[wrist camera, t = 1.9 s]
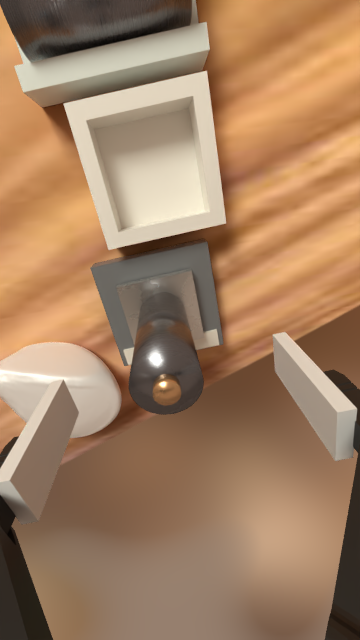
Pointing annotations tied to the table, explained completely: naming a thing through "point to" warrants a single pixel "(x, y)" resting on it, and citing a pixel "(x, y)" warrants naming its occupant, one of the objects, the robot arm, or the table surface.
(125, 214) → the white square tray
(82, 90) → the trough
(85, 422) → the white rounded lump
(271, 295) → the table surface
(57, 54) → the cell
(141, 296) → the plate
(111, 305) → the grey square base pad
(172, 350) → the cell
